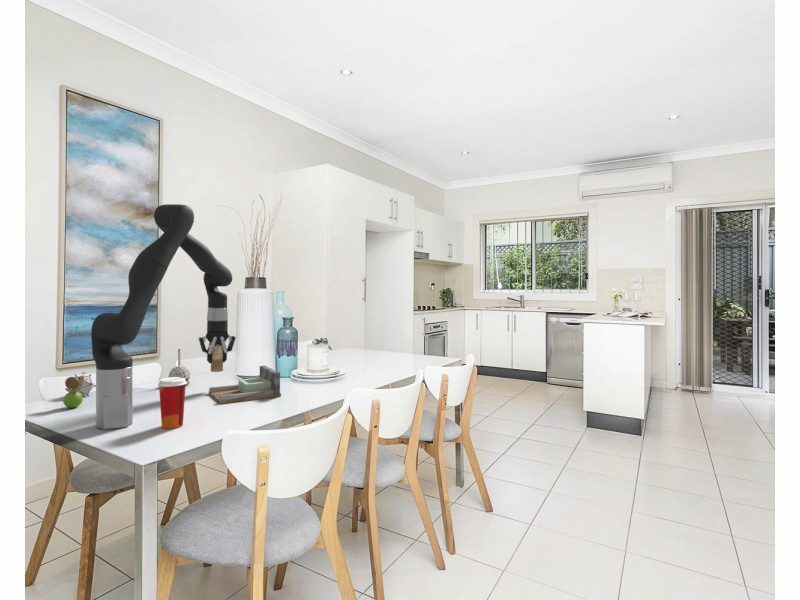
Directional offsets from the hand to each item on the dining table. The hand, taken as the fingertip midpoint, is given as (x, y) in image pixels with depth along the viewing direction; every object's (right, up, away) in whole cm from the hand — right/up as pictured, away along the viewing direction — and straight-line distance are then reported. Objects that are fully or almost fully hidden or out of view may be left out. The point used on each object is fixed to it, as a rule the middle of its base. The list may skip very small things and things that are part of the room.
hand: (217, 362), depth 182 cm
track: (+13, -12, -6) cm, 18 cm away
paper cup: (+4, -13, -45) cm, 47 cm away
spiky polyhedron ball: (-45, -11, -12) cm, 48 cm away
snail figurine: (-37, -12, -27) cm, 47 cm away
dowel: (0, -3, 0) cm, 3 cm away
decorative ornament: (-19, -11, +8) cm, 23 cm away
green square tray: (+16, -11, -4) cm, 20 cm away
